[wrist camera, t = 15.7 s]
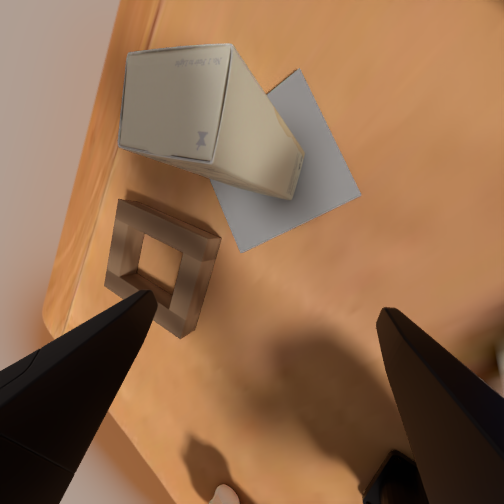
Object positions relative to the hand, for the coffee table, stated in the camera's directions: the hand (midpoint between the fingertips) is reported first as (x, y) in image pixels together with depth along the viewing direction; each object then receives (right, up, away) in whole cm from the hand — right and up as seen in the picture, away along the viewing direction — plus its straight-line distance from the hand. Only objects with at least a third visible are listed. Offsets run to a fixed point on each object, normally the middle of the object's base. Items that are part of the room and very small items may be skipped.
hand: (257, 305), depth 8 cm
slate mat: (+1, +10, +12) cm, 16 cm away
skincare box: (+1, +10, +12) cm, 15 cm away
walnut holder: (-11, +1, +19) cm, 22 cm away
